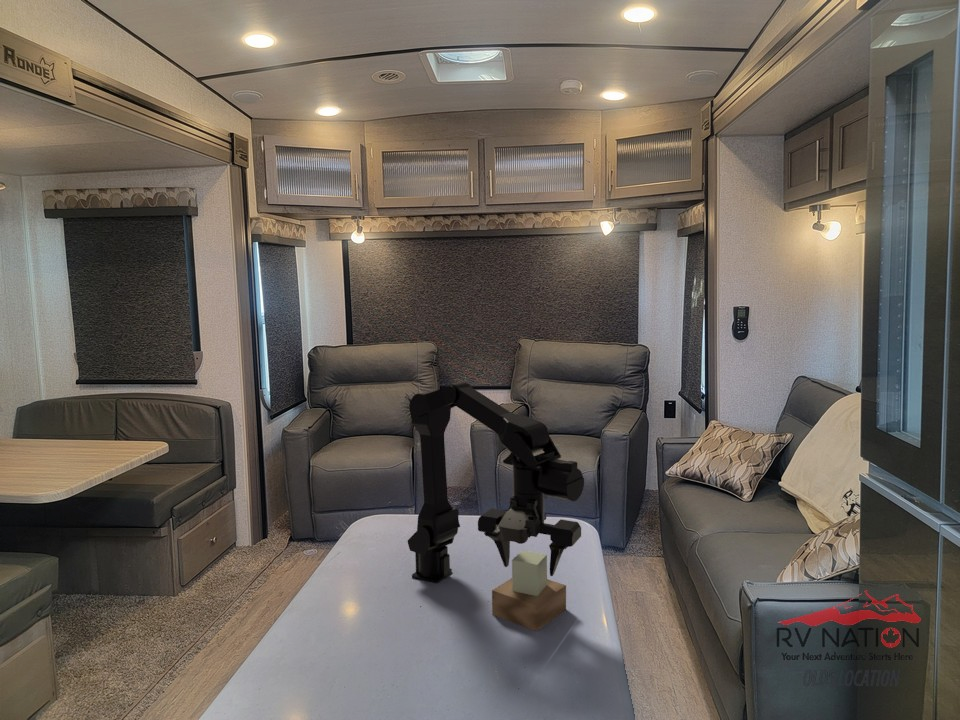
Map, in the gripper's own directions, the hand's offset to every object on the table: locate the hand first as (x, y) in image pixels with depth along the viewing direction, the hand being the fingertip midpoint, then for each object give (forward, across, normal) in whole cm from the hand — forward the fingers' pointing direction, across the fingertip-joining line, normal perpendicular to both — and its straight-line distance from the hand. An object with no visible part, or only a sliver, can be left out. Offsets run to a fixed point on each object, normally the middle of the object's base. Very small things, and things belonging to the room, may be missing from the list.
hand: (528, 570), depth 123 cm
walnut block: (+8, 0, 0) cm, 8 cm away
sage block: (+3, 0, 0) cm, 3 cm away
